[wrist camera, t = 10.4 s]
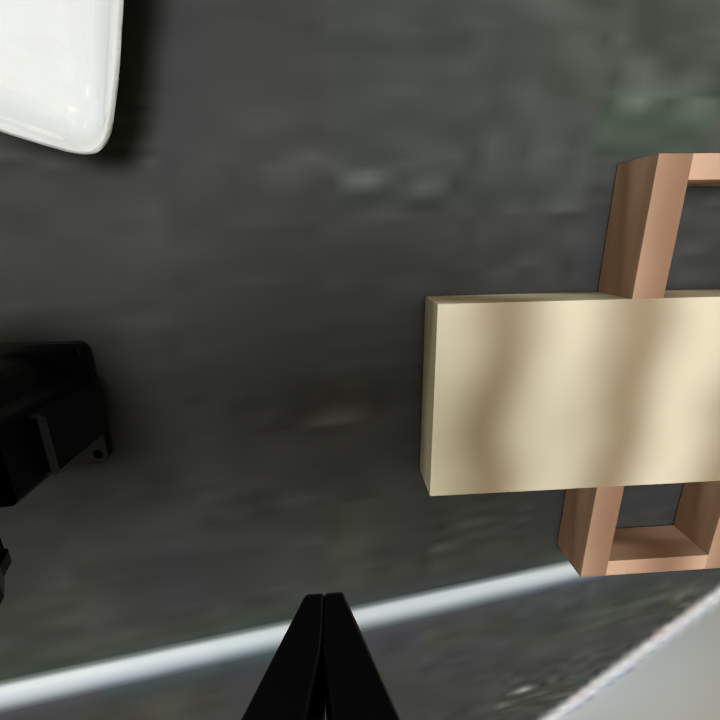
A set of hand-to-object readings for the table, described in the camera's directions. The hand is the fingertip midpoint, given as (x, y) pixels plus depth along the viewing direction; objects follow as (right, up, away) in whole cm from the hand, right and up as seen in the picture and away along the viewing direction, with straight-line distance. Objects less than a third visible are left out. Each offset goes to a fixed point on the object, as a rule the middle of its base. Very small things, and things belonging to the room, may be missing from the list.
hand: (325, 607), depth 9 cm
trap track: (+17, +4, +13) cm, 22 cm away
